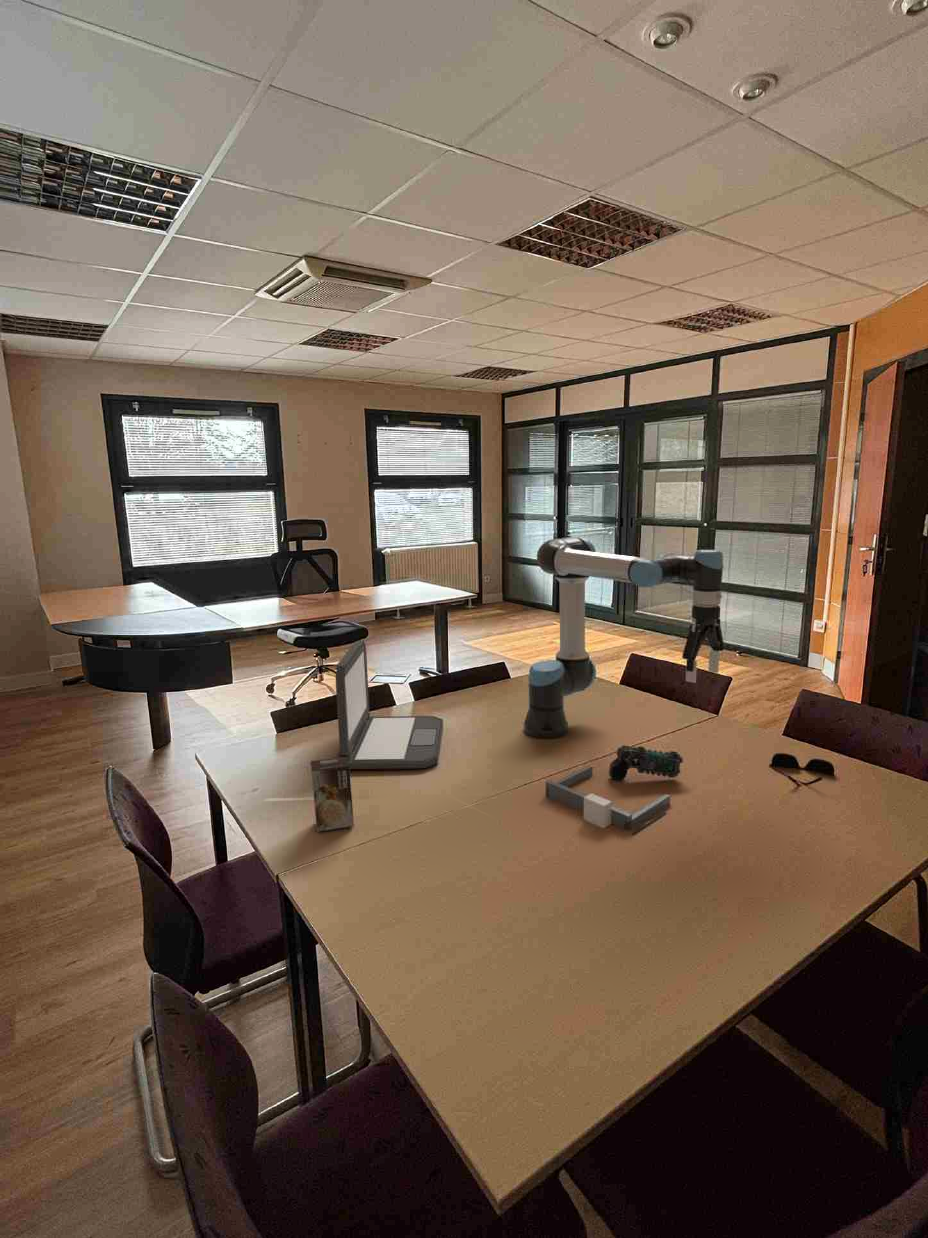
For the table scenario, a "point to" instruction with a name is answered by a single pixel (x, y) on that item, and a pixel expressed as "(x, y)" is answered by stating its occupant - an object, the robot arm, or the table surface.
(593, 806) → the dock
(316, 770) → the coffee box
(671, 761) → the toy gun
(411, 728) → the laptop
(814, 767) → the sunglasses
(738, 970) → the table surface
